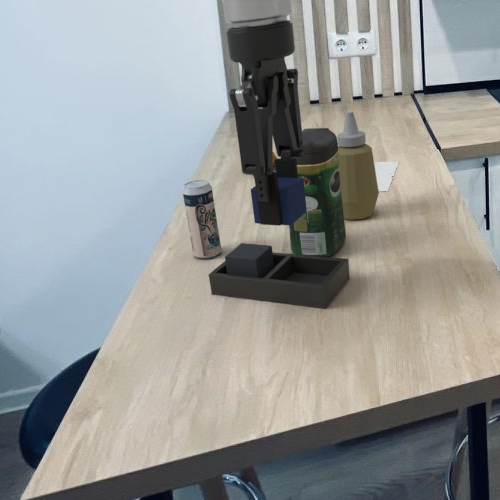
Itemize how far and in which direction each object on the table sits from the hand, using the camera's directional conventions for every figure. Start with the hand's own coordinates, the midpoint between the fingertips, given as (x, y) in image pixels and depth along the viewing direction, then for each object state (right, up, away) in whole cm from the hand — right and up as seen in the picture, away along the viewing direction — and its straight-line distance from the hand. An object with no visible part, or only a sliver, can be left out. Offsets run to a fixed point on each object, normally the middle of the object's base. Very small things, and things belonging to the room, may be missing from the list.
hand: (281, 215), depth 83 cm
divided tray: (0, -9, +10) cm, 14 cm away
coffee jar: (+7, -4, +21) cm, 22 cm away
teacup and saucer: (+16, +11, +54) cm, 57 cm away
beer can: (-11, -5, +24) cm, 27 cm away
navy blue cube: (0, 0, 0) cm, 0 cm away
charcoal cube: (-4, -9, +12) cm, 15 cm away
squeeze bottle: (+15, +2, +32) cm, 36 cm away
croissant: (-1, +14, +67) cm, 68 cm away
